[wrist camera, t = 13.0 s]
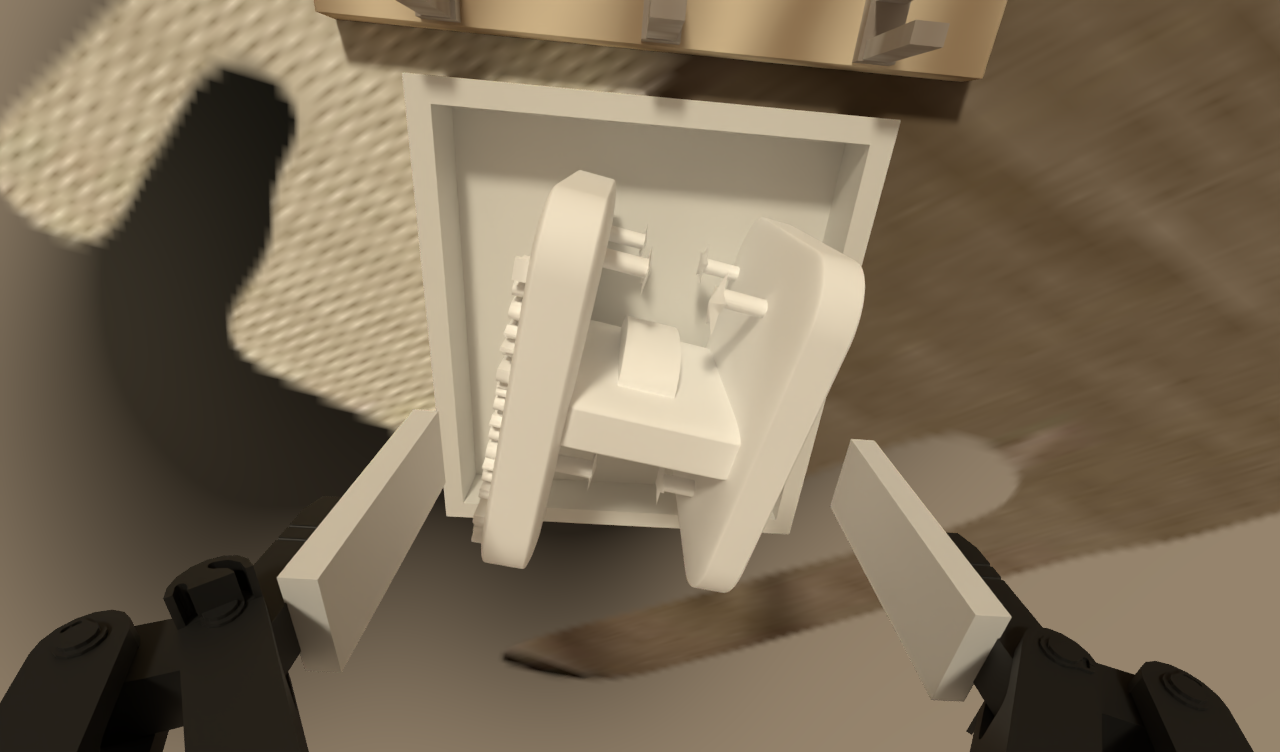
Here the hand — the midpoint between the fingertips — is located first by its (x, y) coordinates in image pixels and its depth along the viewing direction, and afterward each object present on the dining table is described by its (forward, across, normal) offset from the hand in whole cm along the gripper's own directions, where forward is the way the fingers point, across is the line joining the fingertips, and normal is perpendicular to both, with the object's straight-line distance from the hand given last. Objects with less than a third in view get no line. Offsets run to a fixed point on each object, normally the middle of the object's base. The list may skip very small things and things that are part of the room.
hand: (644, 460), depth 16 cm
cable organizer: (+12, 0, 0) cm, 12 cm away
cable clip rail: (+13, 0, -14) cm, 19 cm away
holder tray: (+13, 0, 0) cm, 13 cm away
